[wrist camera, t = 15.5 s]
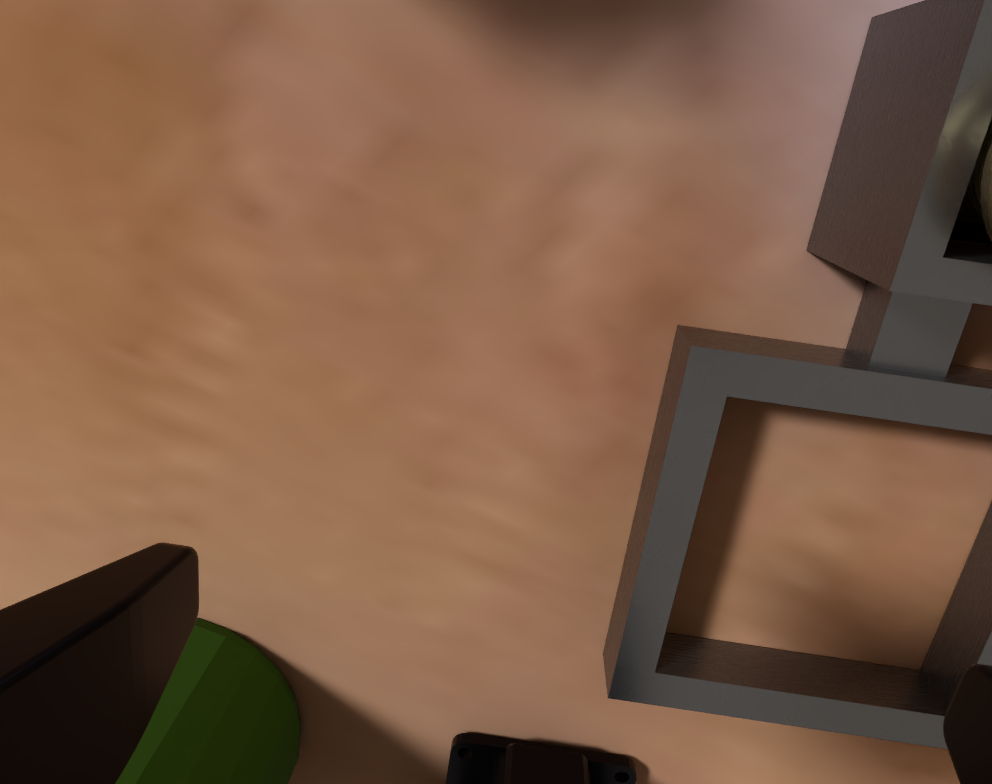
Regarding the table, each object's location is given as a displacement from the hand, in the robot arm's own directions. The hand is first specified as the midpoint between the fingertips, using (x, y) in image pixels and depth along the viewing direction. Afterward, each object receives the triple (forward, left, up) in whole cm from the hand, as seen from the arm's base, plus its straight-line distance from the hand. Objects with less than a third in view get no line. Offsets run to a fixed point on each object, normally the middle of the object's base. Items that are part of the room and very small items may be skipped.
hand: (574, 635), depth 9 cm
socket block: (-1, -9, -13) cm, 16 cm away
